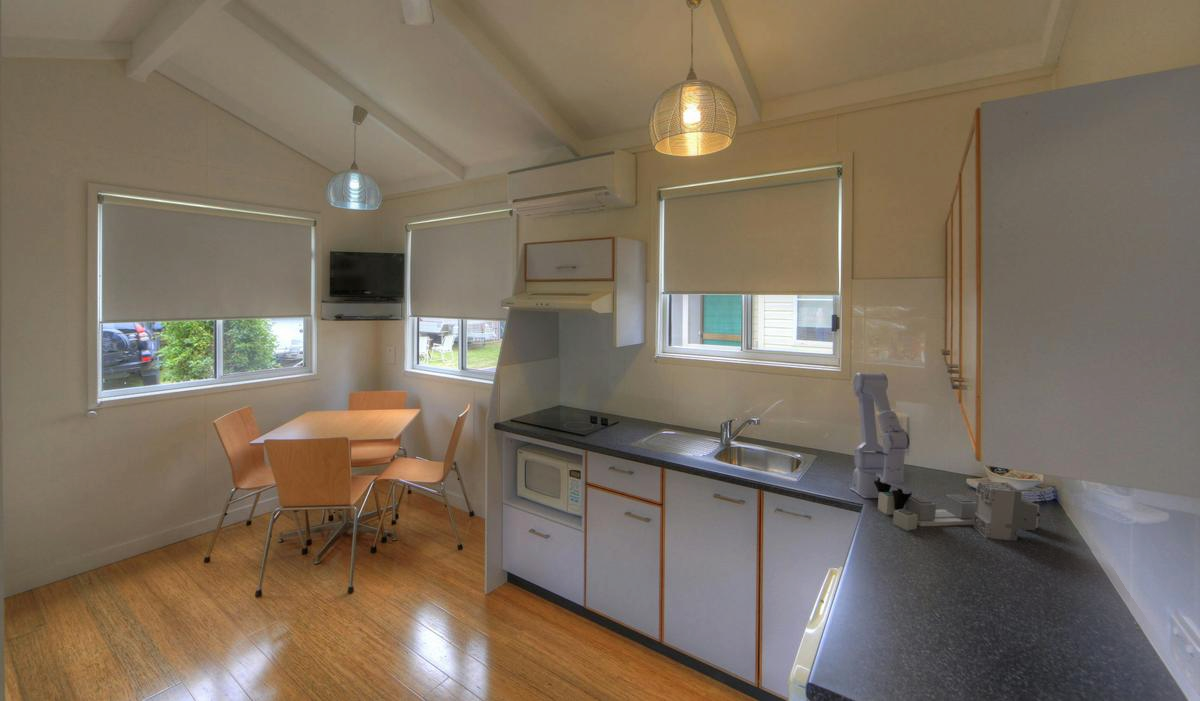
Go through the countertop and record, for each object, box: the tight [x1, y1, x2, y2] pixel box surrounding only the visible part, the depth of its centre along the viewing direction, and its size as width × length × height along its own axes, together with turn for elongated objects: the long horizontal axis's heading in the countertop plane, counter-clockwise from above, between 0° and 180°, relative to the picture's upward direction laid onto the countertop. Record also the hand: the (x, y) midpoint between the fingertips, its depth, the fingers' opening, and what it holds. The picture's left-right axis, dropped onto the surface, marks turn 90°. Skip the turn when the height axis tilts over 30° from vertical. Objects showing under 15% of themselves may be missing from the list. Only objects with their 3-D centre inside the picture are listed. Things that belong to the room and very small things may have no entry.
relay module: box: [877, 491, 905, 515], centre depth 174 cm, size 4×6×6 cm
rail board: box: [904, 494, 978, 527], centre depth 168 cm, size 9×20×7 cm, turn 96°
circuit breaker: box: [972, 480, 1040, 542], centre depth 157 cm, size 8×14×15 cm, turn 78°
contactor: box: [892, 508, 918, 531], centre depth 163 cm, size 5×4×5 cm
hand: (890, 506), depth 174 cm, fingers open, 7 cm apart
